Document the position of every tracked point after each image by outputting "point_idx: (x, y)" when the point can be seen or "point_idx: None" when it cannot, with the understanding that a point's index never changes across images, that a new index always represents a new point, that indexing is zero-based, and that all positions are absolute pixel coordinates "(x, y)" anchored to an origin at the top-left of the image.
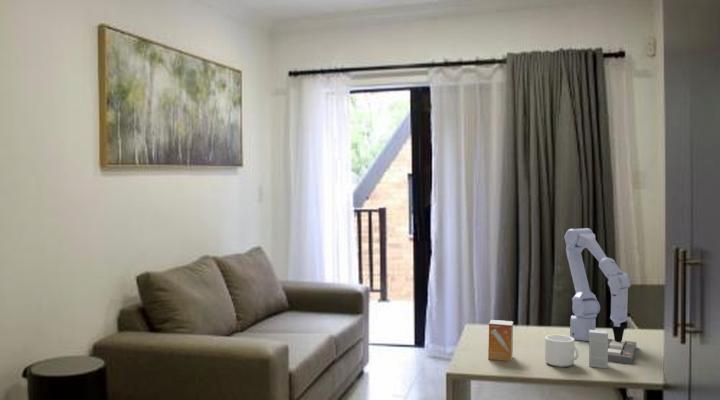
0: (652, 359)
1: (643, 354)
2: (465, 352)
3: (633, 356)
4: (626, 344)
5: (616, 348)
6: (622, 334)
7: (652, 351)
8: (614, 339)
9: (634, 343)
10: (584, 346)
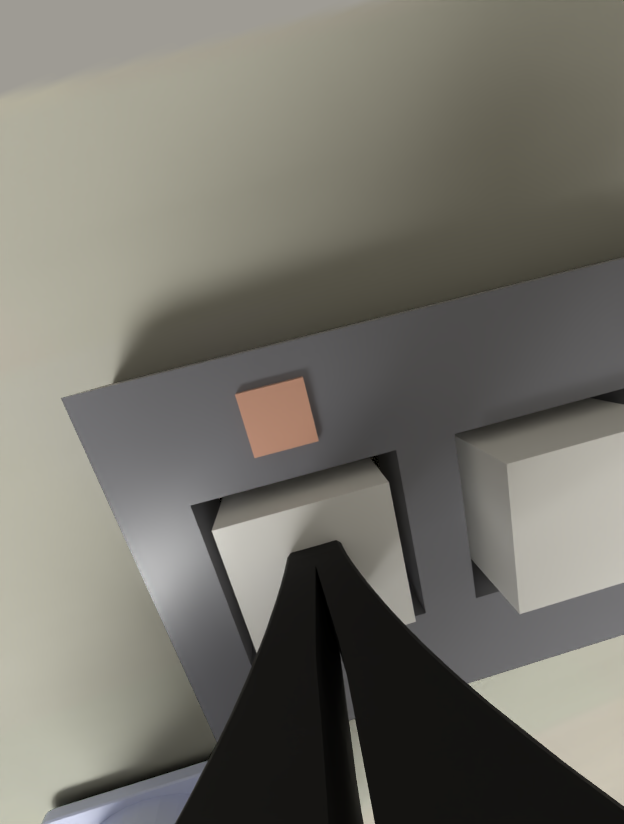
0: (527, 27)
1: (360, 208)
2: None
3: (540, 277)
4: (327, 458)
5: None
6: (406, 628)
7: (114, 140)
8: (256, 649)
9: (181, 391)
10: None
